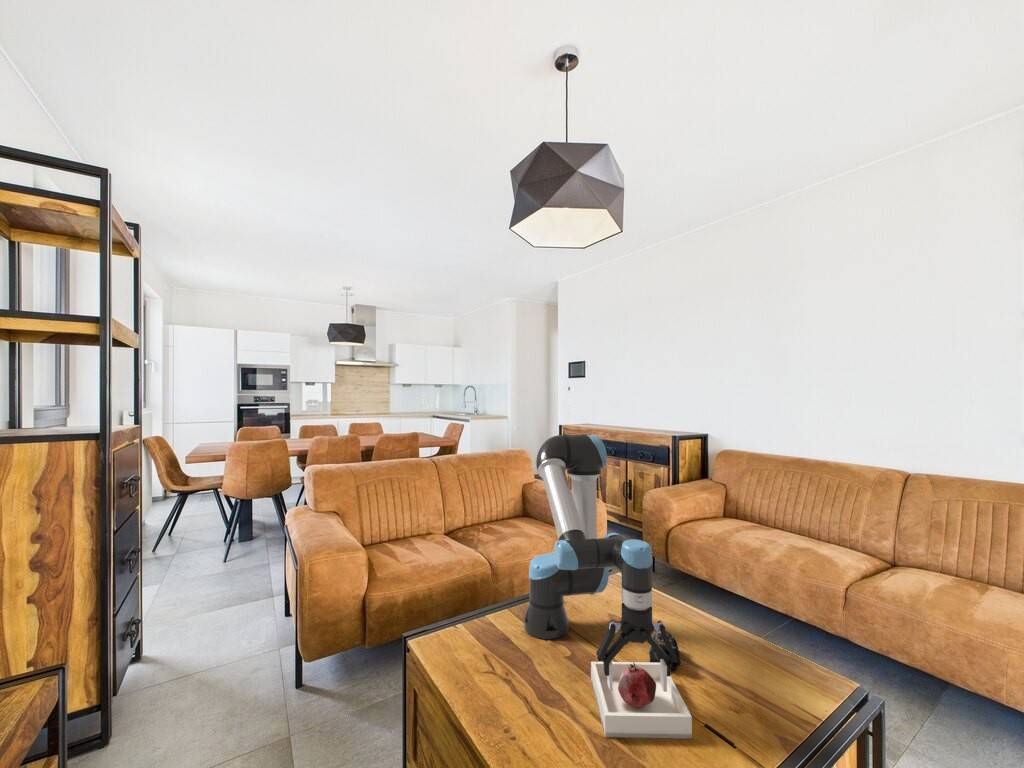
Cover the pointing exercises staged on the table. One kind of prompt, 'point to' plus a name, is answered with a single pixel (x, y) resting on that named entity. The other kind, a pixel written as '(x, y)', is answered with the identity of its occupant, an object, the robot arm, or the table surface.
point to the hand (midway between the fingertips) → (636, 687)
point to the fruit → (636, 687)
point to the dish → (649, 721)
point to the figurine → (664, 649)
